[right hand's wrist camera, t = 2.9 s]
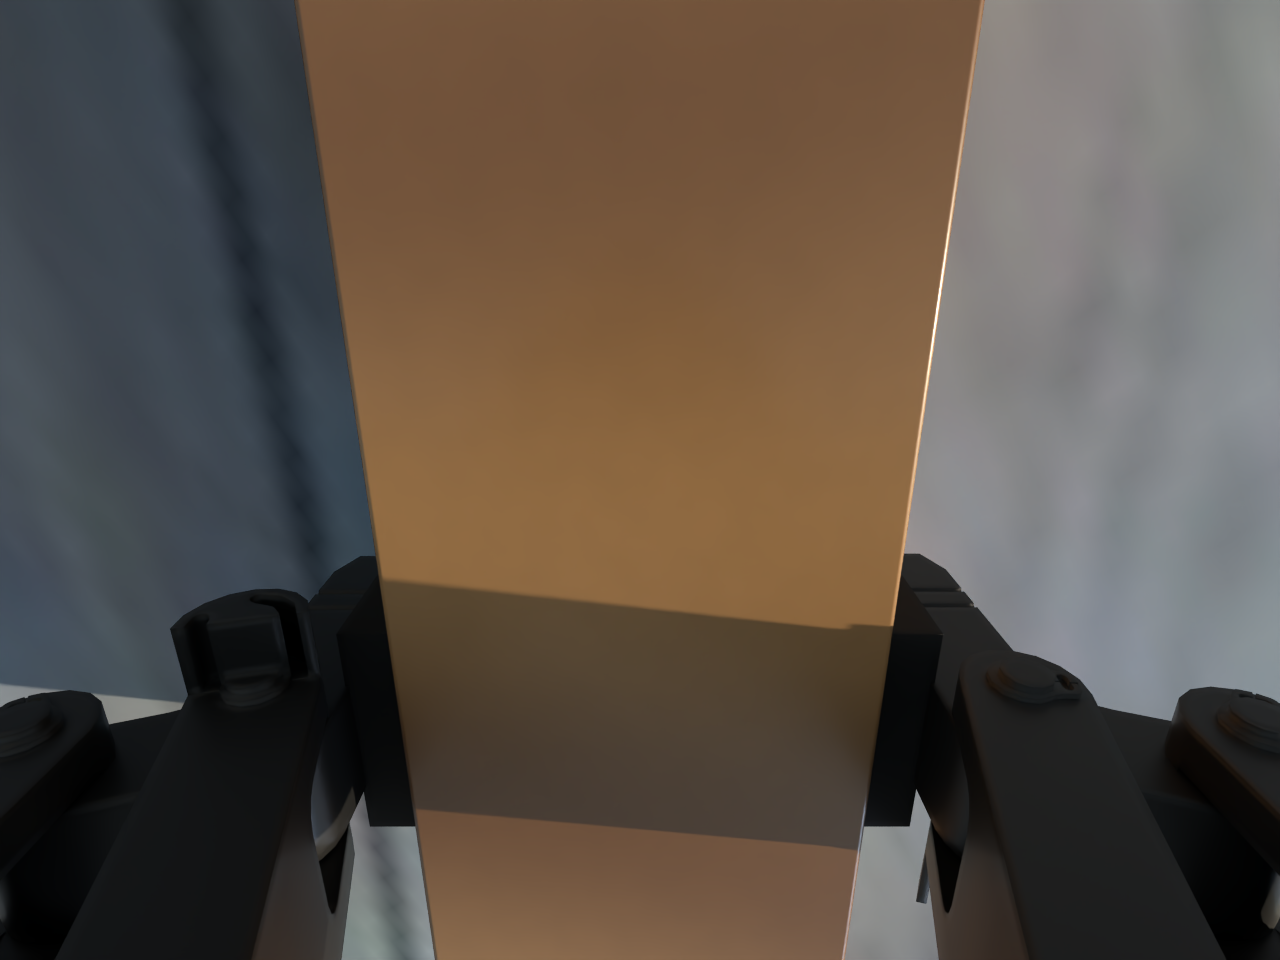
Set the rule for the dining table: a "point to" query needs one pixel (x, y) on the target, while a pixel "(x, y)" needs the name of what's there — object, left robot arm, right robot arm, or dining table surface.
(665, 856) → the beam
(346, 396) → the dining table surface
